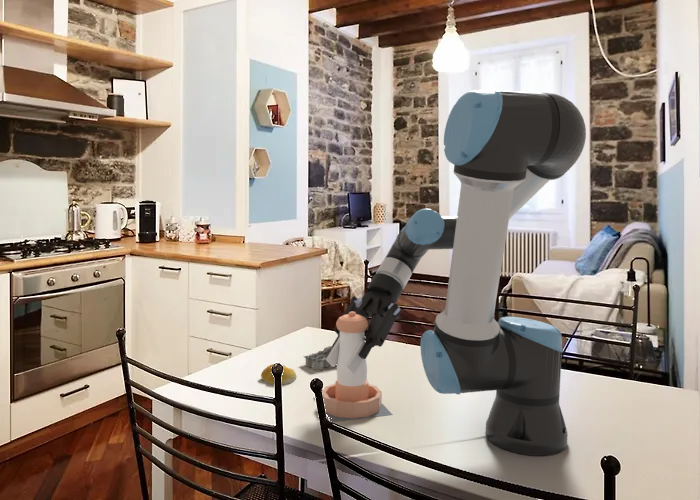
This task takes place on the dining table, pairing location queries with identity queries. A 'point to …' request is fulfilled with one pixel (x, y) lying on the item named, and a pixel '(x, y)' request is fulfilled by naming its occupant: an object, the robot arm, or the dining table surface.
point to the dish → (352, 403)
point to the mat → (382, 412)
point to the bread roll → (287, 375)
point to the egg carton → (319, 359)
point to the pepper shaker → (350, 336)
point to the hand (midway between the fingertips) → (340, 366)
